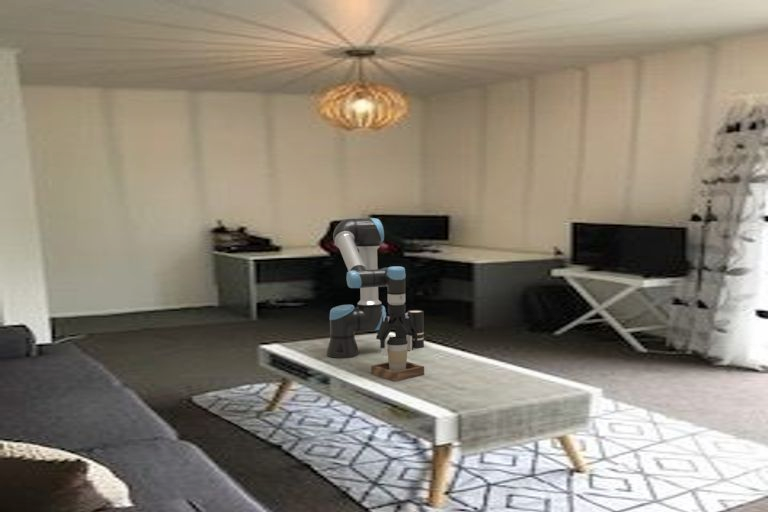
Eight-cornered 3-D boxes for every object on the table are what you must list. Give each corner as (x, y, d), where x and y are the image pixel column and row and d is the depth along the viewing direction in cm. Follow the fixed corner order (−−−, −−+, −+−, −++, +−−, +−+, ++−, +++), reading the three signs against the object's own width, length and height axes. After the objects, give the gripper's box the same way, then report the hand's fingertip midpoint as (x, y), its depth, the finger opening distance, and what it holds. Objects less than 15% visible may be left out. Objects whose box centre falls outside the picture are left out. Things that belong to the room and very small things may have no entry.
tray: (371, 373, 296) (371, 365, 296) (400, 367, 306) (400, 359, 306) (394, 381, 284) (394, 373, 283) (424, 374, 293) (424, 366, 293)
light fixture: (428, 346, 346) (428, 311, 345) (409, 351, 337) (409, 314, 335) (414, 343, 353) (413, 309, 352) (395, 348, 344) (394, 312, 342)
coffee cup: (408, 369, 299) (408, 334, 297) (407, 374, 290) (407, 339, 288) (388, 369, 300) (387, 334, 298) (386, 374, 291) (385, 339, 289)
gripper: (378, 308, 281) (379, 359, 284) (424, 301, 297) (424, 349, 299) (367, 305, 287) (368, 355, 290) (413, 298, 303) (413, 346, 305)
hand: (396, 352), depth 294 cm, fingers open, 13 cm apart
